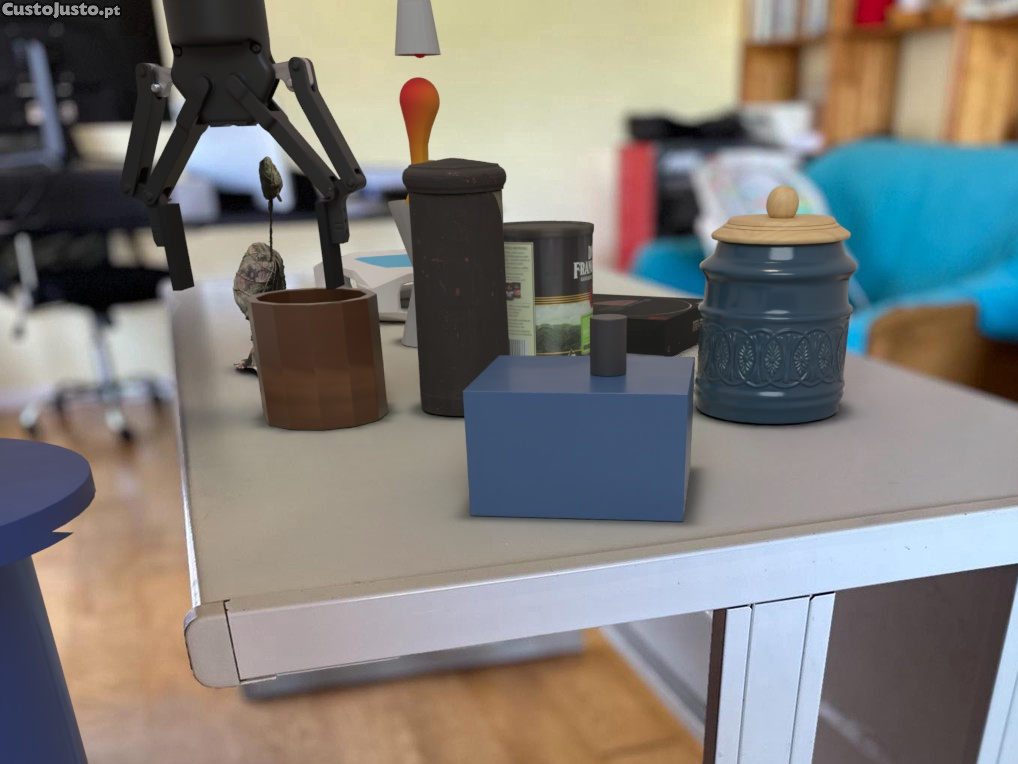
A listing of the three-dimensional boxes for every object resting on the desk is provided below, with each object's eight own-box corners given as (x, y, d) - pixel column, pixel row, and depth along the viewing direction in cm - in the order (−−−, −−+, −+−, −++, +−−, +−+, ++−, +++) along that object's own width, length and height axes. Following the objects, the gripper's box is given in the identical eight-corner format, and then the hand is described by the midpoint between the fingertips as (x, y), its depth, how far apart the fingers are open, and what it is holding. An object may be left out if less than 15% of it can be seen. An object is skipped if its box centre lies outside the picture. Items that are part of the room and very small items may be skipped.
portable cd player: (585, 327, 137) (584, 293, 135) (714, 335, 130) (716, 299, 128) (524, 349, 124) (523, 312, 122) (664, 359, 117) (665, 320, 115)
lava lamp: (456, 349, 125) (432, -24, 107) (386, 345, 127) (352, -18, 110) (487, 336, 132) (470, -15, 114) (421, 333, 135) (394, -10, 117)
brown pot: (247, 429, 93) (227, 304, 88) (290, 401, 103) (274, 287, 98) (366, 431, 92) (353, 304, 87) (399, 403, 101) (389, 287, 96)
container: (532, 401, 101) (525, 155, 91) (482, 422, 94) (468, 159, 84) (453, 393, 104) (438, 156, 94) (399, 413, 97) (377, 160, 87)
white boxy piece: (448, 290, 169) (445, 245, 166) (522, 313, 147) (521, 263, 144) (315, 300, 161) (310, 254, 158) (372, 327, 139) (367, 274, 136)
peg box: (470, 515, 72) (458, 331, 66) (503, 466, 82) (496, 302, 76) (683, 521, 70) (690, 332, 64) (690, 470, 80) (697, 303, 74)
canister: (664, 412, 96) (671, 188, 87) (742, 387, 104) (756, 180, 96) (795, 434, 89) (817, 191, 80) (867, 405, 97) (894, 183, 88)
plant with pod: (305, 356, 123) (279, 154, 113) (318, 375, 113) (290, 156, 103) (231, 362, 120) (198, 156, 110) (238, 381, 111) (202, 158, 101)
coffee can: (601, 369, 113) (601, 219, 106) (585, 390, 104) (584, 228, 97) (505, 367, 115) (499, 219, 108) (481, 388, 106) (473, 228, 99)
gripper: (385, -19, 84) (412, 280, 94) (83, -4, 87) (142, 283, 98) (355, -29, 77) (388, 292, 88) (31, -12, 80) (100, 295, 91)
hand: (259, 288), depth 93 cm, fingers open, 13 cm apart
